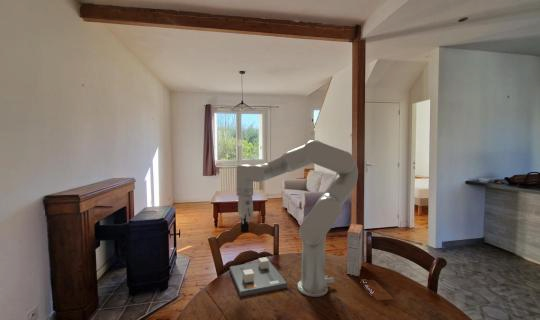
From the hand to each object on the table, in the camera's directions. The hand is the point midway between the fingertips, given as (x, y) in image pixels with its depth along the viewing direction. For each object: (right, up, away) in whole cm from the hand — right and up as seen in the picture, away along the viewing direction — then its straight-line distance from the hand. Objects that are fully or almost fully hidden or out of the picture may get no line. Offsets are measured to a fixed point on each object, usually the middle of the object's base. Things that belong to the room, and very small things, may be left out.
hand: (244, 231), depth 111 cm
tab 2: (+8, -18, +5) cm, 21 cm away
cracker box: (+53, -21, +9) cm, 58 cm away
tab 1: (+2, -18, -7) cm, 20 cm away
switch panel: (+5, -21, -1) cm, 21 cm away
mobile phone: (+56, -23, -8) cm, 61 cm away
